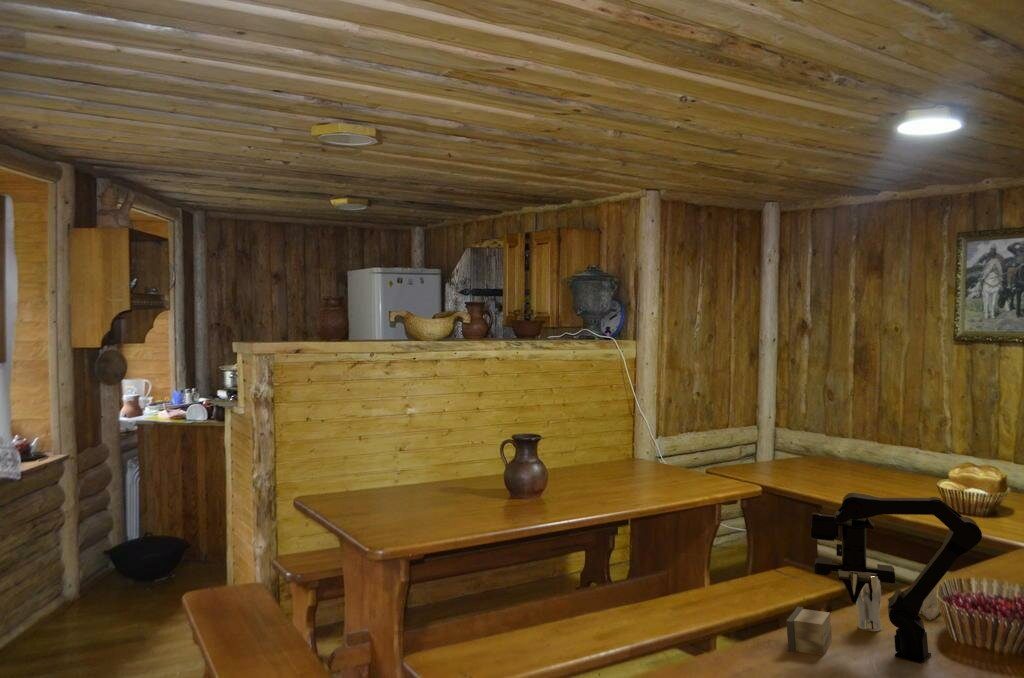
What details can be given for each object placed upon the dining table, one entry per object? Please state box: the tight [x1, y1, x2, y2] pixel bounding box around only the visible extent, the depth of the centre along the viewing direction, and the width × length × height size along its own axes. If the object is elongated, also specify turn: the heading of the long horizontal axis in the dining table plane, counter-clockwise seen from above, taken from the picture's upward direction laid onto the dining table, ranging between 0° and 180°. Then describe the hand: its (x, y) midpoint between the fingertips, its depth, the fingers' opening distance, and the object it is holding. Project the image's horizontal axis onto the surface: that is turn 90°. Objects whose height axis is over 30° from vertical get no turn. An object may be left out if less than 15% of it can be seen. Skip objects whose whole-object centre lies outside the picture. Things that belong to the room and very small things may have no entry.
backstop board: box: [785, 606, 805, 654], centre depth 200 cm, size 2×12×8 cm, turn 145°
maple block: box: [794, 608, 833, 657], centre depth 197 cm, size 7×10×8 cm
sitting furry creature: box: [918, 588, 941, 621], centre depth 216 cm, size 10×9×12 cm
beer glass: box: [852, 573, 883, 633], centre depth 208 cm, size 7×7×15 cm
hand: (854, 602), depth 194 cm, fingers closed
